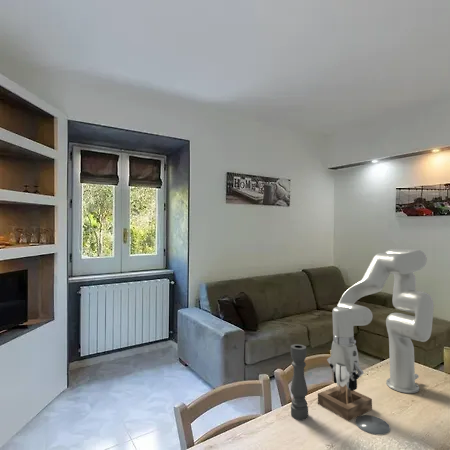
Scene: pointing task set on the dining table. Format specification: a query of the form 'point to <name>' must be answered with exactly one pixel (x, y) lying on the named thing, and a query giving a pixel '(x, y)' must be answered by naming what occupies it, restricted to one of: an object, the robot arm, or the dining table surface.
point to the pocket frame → (344, 410)
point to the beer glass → (343, 384)
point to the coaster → (372, 424)
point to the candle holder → (299, 383)
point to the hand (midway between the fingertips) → (345, 385)
